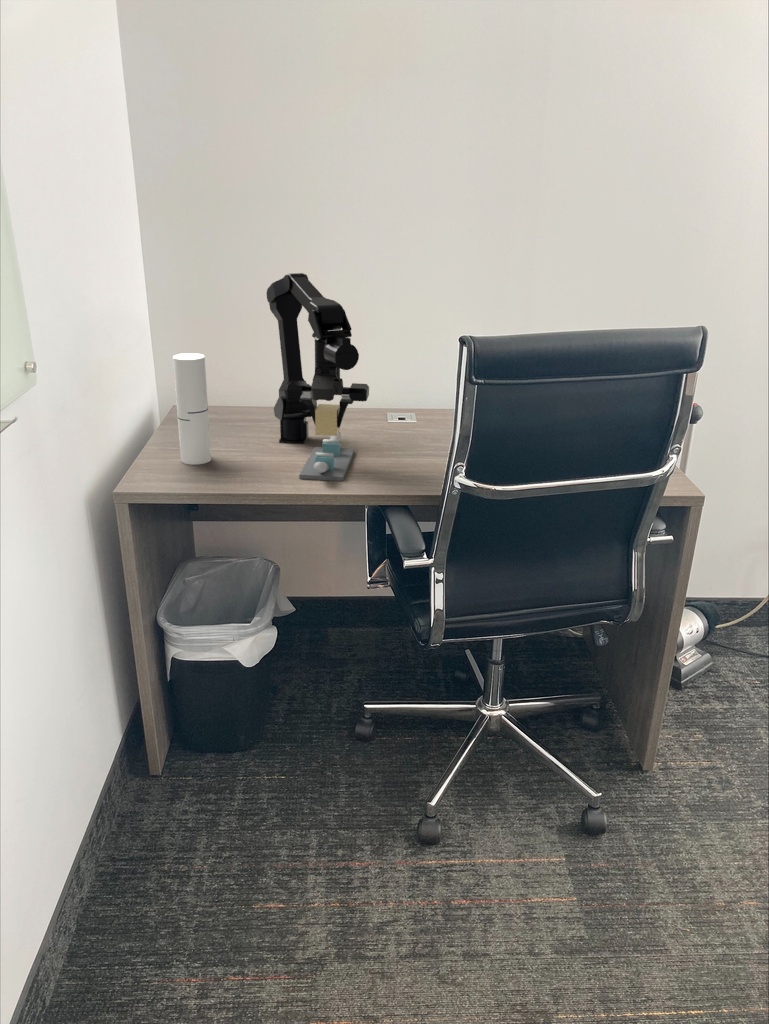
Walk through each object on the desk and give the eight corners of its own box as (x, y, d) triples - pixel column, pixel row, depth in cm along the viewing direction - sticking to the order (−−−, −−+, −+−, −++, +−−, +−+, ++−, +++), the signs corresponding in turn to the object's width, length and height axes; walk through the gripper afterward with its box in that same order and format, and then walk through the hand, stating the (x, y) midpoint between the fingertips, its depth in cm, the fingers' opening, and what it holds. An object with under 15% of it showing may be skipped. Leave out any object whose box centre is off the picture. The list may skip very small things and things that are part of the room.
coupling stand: (296, 483, 182) (296, 461, 180) (316, 447, 205) (316, 427, 203) (340, 485, 181) (340, 464, 179) (355, 449, 205) (356, 429, 203)
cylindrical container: (210, 464, 192) (204, 359, 182) (180, 465, 191) (171, 360, 181) (211, 454, 198) (205, 352, 189) (181, 455, 197) (173, 353, 188)
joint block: (315, 434, 188) (315, 409, 185) (319, 428, 192) (318, 403, 190) (336, 435, 187) (336, 410, 185) (339, 429, 192) (339, 404, 190)
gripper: (279, 366, 177) (281, 434, 183) (364, 370, 175) (363, 439, 181) (289, 355, 187) (291, 420, 193) (369, 359, 185) (368, 424, 191)
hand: (327, 426), depth 189 cm, fingers closed on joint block, 5 cm apart
